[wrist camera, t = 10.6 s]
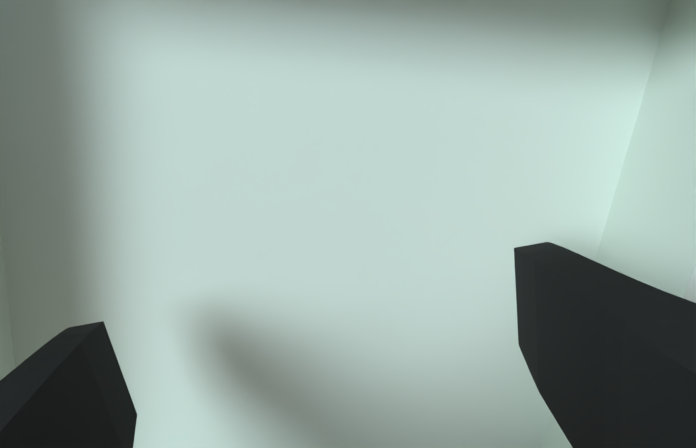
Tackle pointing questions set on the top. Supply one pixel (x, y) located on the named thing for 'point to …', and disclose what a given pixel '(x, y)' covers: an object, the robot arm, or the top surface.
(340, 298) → the tray
